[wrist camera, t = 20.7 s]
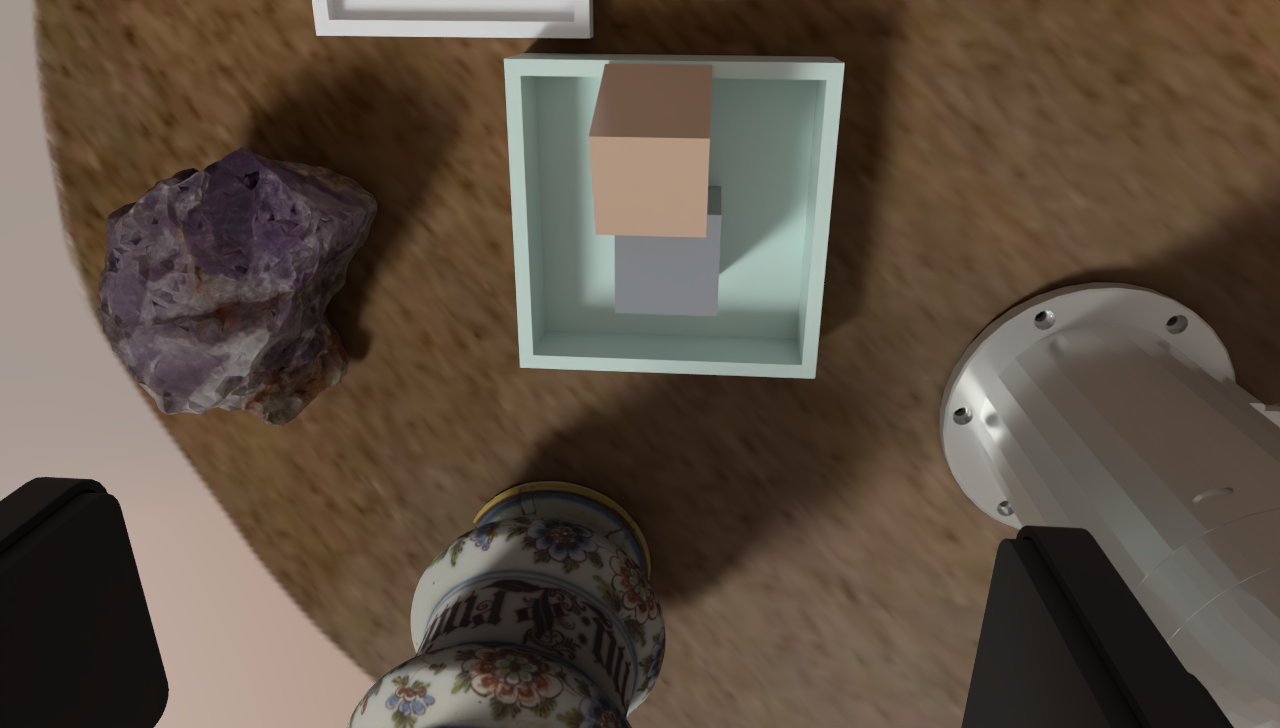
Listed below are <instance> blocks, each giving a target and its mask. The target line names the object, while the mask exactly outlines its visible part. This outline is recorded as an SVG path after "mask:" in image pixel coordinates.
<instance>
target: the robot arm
mask: <svg viewBox="0 0 1280 728" xmlns="http://www.w3.org/2000/svg"><path fill="white" fill-rule="evenodd" d="M1042 311H1043V314H1042V316H1041V317H1039V318H1035V317H1036V315H1037V314H1039V313H1040V312H1042ZM1170 318H1172V319H1171V320H1170V321H1168V320H1169V319H1170ZM959 408H963V409H962V410H961V411H959V412H955V411H956V410H958V409H959ZM940 439H941V443H942V448H943V452H944V456H945V459H946V461H947V463H948V465H949V467H950V469H951V472H952V474H953V476H954V477H955V479H956V481H957V482H958V484H959V485H960V487H961V488H962V490H963V491H964V493H965V494H966V495H967V496H968V497H969V498H970V499H971V500H972V501H973V502H974V503H975V504H976V505H977V506H978V507H979V508H980V509H981V510H982V511H984V512H985V513H987V514H988V515H990V516H991V517H993V518H994V519H996V520H997V521H999V522H1001V523H1004V524H1006V525H1009V526H1011V527H1014V528H1016V529H1019V530H1020V531H1019V533H1018V534H1017V537H1016V539H1004V540H1002V541H1001V543H1000V545H999V547H998V551H997V555H996V560H995V565H994V570H993V575H992V580H991V584H990V589H989V594H988V599H987V604H986V609H985V614H984V619H983V624H982V629H981V634H980V639H979V644H978V649H977V654H976V659H975V664H974V669H973V674H972V679H971V683H970V688H969V693H968V698H967V703H966V708H965V713H964V718H963V723H962V728H1280V404H1274V405H1264V404H1263V403H1262V402H1260V401H1259V400H1258V399H1256V398H1255V397H1254V396H1252V395H1251V394H1250V393H1248V392H1247V391H1245V390H1244V389H1243V388H1241V387H1240V386H1239V385H1237V384H1236V381H1235V372H1234V369H1233V366H1232V363H1231V360H1230V357H1229V355H1228V352H1227V349H1226V348H1225V346H1224V345H1223V343H1222V342H1221V340H1220V339H1219V337H1218V336H1217V334H1216V333H1215V331H1214V330H1213V329H1212V328H1211V327H1210V326H1209V325H1208V324H1207V323H1206V322H1205V321H1204V320H1203V319H1201V318H1200V317H1199V316H1198V315H1197V314H1196V313H1195V312H1193V311H1192V310H1190V309H1189V308H1187V307H1186V306H1184V305H1183V304H1181V303H1180V302H1178V301H1177V300H1175V299H1173V298H1171V297H1168V296H1166V295H1164V294H1161V293H1159V292H1157V291H1155V290H1152V289H1149V288H1144V287H1140V286H1135V285H1131V284H1126V283H1105V282H1093V283H1086V284H1079V285H1072V286H1066V287H1063V288H1059V289H1056V290H1053V291H1050V292H1047V293H1044V294H1040V295H1038V296H1036V297H1034V298H1032V299H1030V300H1028V301H1026V302H1024V303H1022V304H1020V305H1018V306H1016V307H1014V308H1012V309H1010V310H1009V311H1008V312H1006V313H1005V314H1003V315H1002V316H1001V317H999V318H998V319H997V320H995V321H994V322H992V323H991V324H990V325H988V326H987V327H986V328H985V330H984V331H983V332H982V333H981V334H980V335H979V336H978V337H977V338H976V339H975V340H974V341H973V342H972V343H971V344H970V345H969V346H968V348H967V349H966V351H965V352H964V354H963V355H962V356H961V358H960V359H959V361H958V362H957V364H956V365H955V367H954V369H953V371H952V373H951V376H950V378H949V380H948V383H947V385H946V387H945V390H944V394H943V399H942V403H941V408H940ZM168 691H169V688H168V682H167V678H166V674H165V670H164V666H163V663H162V659H161V655H160V652H159V648H158V644H157V641H156V637H155V634H154V629H153V626H152V622H151V618H150V615H149V611H148V607H147V603H146V600H145V596H144V592H143V588H142V585H141V581H140V577H139V574H138V570H137V566H136V562H135V559H134V555H133V551H132V547H131V544H130V540H129V537H128V532H127V529H126V525H125V522H124V518H123V514H122V510H121V507H120V504H119V502H118V500H117V499H116V498H115V497H114V496H113V495H110V494H108V493H107V491H106V489H105V488H104V487H103V486H102V485H101V483H99V482H97V481H95V480H92V479H74V478H53V477H41V478H35V479H33V480H31V481H29V482H27V483H25V484H24V485H23V486H22V487H20V488H18V489H17V490H16V491H14V492H13V493H11V494H10V495H8V496H7V497H6V498H4V499H3V500H2V501H0V728H154V727H155V725H156V724H157V723H158V721H159V720H160V718H161V716H162V715H163V712H164V710H165V707H166V704H167V700H168Z"/></svg>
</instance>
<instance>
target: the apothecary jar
mask: <svg viewBox="0 0 1280 728" xmlns="http://www.w3.org/2000/svg"><path fill="white" fill-rule="evenodd" d="M473 524H474V526H475V529H473V530H471V531H469V532H467V533H465V534H464V535H462V536H460V537H459V538H457V539H456V540H455V541H453V542H452V543H451V544H449V545H448V546H447V547H446V548H445V549H444V550H443V551H442V552H441V553H440V554H439V555H438V556H437V557H436V558H435V559H434V560H433V561H432V563H431V564H430V565H429V566H428V568H427V569H426V571H425V572H424V574H423V576H422V577H421V579H420V581H419V584H418V586H417V589H416V592H415V595H414V599H413V603H412V609H411V632H412V639H413V644H414V648H415V651H416V656H415V657H414V658H412V659H410V660H408V661H406V662H404V663H402V664H401V665H399V666H397V667H396V668H394V669H392V670H391V671H389V672H388V673H387V674H386V675H384V676H383V677H382V678H381V679H380V680H378V681H377V682H376V683H375V684H374V685H373V686H372V687H371V688H370V689H369V691H368V692H367V693H366V694H365V696H364V697H363V698H362V700H361V701H360V703H359V704H358V706H357V707H356V709H355V711H354V713H353V714H352V716H351V718H350V721H349V723H348V725H347V728H632V727H631V726H630V724H629V722H628V721H627V719H626V718H627V717H628V716H629V715H630V714H631V713H632V712H634V711H635V710H636V709H637V708H638V707H639V706H640V705H641V704H642V703H643V701H644V700H645V699H646V697H647V696H648V694H649V693H650V691H651V690H652V688H653V686H654V684H655V682H656V680H657V678H658V675H659V672H660V669H661V666H662V662H663V658H664V652H665V626H664V619H663V615H662V611H661V607H660V604H659V601H658V598H657V596H656V594H655V591H654V589H653V587H652V585H651V584H650V582H649V578H650V571H651V562H650V555H649V550H648V547H647V543H646V540H645V538H644V536H643V534H642V532H641V530H640V529H639V527H638V525H637V524H636V523H635V521H634V520H633V519H632V517H631V516H630V515H629V514H628V513H627V512H626V511H625V510H624V509H623V508H622V507H621V506H620V505H618V504H617V503H616V502H614V501H613V500H612V499H610V498H608V497H607V496H605V495H603V494H601V493H599V492H597V491H595V490H593V489H590V488H587V487H585V486H581V485H578V484H574V483H569V482H561V481H537V482H531V483H525V484H522V485H519V486H516V487H513V488H511V489H508V490H506V491H504V492H503V493H501V494H499V495H498V496H496V497H494V498H493V499H492V500H491V501H490V502H488V503H487V504H486V505H485V506H484V507H483V508H482V510H481V511H480V512H479V513H478V515H477V516H476V517H475V519H474V521H473Z"/></svg>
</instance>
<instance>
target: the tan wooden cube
mask: <svg viewBox="0 0 1280 728" xmlns="http://www.w3.org/2000/svg"><path fill="white" fill-rule="evenodd" d="M711 93H712V65H660V64H605V66H604V70H603V75H602V79H601V84H600V88H599V93H598V97H597V101H596V106H595V110H594V115H593V119H592V124H591V128H590V133H589V148H590V162H591V175H592V189H593V203H594V216H595V230H596V235H624V236H662V237H700V238H706V230H707V203H708V176H709V149H710V121H711Z"/></svg>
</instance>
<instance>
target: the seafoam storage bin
mask: <svg viewBox="0 0 1280 728" xmlns="http://www.w3.org/2000/svg"><path fill="white" fill-rule="evenodd" d="M605 64H660V65H712V93H711V121H710V149H709V176H708V186H721V204H722V219H721V241H720V263H719V285H718V307H717V317H716V316H688V315H660V314H632V313H615V235H596V230H595V216H594V203H593V189H592V175H591V162H590V148H589V133H590V128H591V124H592V119H593V115H594V110H595V106H596V101H597V97H598V93H599V88H600V84H601V79H602V75H603V70H604V66H605ZM844 65H845V63H844V62H842V61H840V60H838V59H836V58H834V57H816V56H731V55H646V54H561V53H522V54H519V55H515V56H512V57H509V58H505V59H504V69H505V88H506V107H507V126H508V145H509V164H510V183H511V202H512V221H513V241H514V260H515V279H516V298H517V317H518V336H519V355H520V368H546V369H573V370H599V371H625V372H652V373H678V374H704V375H731V376H757V377H783V378H809V379H815V374H816V363H817V353H818V342H819V331H820V321H821V310H822V299H823V289H824V278H825V267H826V257H827V246H828V236H829V225H830V214H831V204H832V193H833V182H834V172H835V161H836V150H837V140H838V129H839V118H840V108H841V97H842V87H843V76H844Z"/></svg>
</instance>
